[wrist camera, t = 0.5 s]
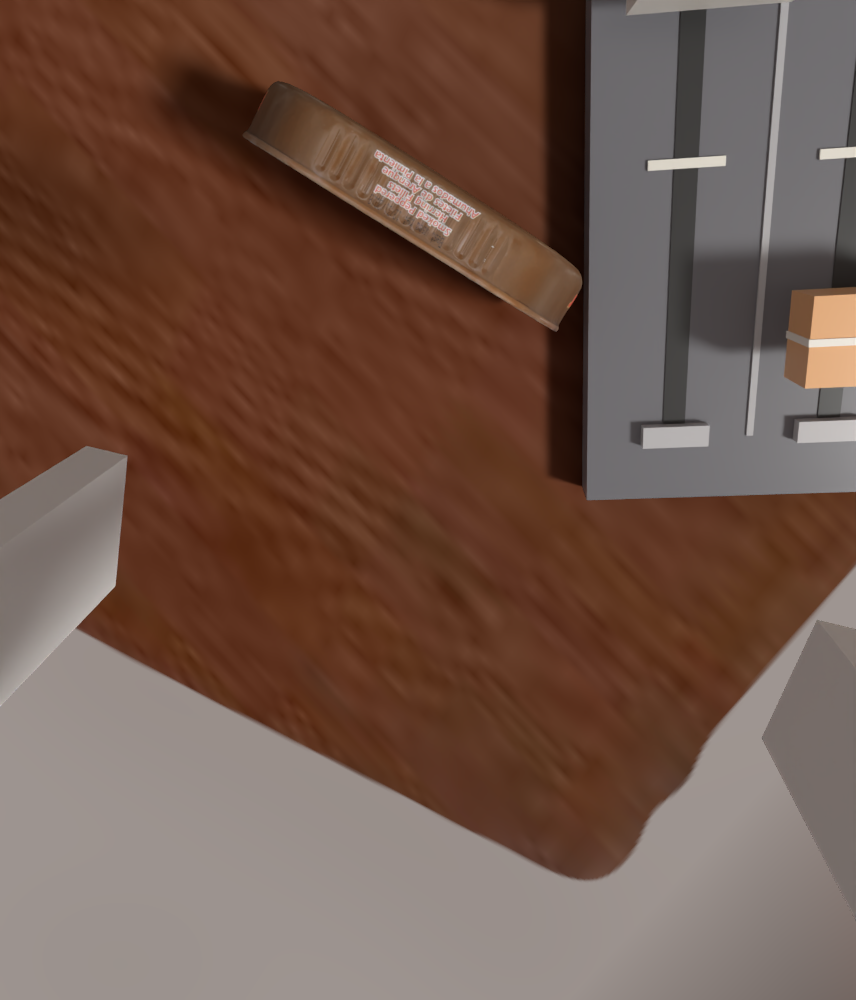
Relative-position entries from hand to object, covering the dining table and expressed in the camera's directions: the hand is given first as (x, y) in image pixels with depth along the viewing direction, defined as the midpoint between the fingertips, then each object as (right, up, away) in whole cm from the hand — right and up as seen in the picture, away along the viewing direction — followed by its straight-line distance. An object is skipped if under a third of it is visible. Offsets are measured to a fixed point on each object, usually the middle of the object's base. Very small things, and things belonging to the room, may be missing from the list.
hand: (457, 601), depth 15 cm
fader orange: (+18, +10, +20) cm, 28 cm away
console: (+14, +17, +20) cm, 30 cm away
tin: (-1, +15, +22) cm, 27 cm away
